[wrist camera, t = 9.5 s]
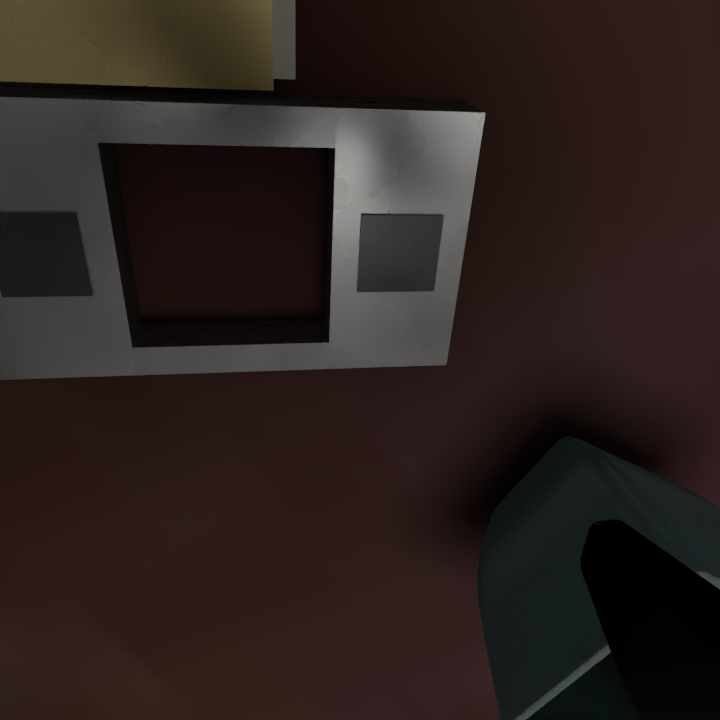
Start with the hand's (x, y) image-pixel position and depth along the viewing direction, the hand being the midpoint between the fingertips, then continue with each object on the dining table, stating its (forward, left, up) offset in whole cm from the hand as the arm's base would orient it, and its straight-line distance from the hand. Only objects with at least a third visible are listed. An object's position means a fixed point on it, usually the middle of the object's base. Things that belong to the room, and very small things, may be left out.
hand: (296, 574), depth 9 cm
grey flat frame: (-1, +1, -12) cm, 12 cm away
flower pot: (+13, -11, -13) cm, 21 cm away
